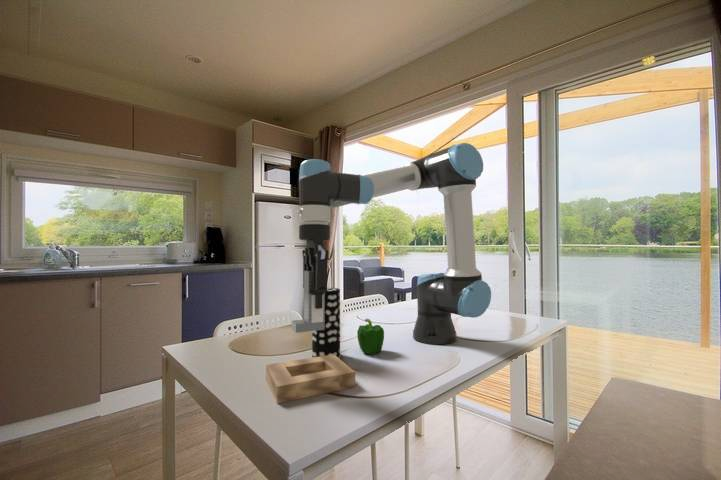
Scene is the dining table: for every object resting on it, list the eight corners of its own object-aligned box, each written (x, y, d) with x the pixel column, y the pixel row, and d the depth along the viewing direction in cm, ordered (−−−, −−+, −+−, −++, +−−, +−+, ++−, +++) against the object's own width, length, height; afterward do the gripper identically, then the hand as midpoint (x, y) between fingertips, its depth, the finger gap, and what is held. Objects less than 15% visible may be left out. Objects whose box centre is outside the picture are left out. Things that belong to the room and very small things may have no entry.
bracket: (319, 326, 82) (319, 270, 82) (324, 329, 78) (324, 271, 78) (291, 328, 79) (292, 271, 79) (295, 332, 75) (296, 272, 75)
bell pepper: (387, 355, 98) (386, 322, 98) (360, 357, 96) (359, 323, 97) (380, 347, 106) (380, 316, 106) (355, 348, 105) (355, 317, 105)
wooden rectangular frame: (333, 367, 88) (333, 354, 88) (355, 387, 76) (355, 371, 76) (265, 379, 81) (266, 364, 81) (277, 403, 68) (277, 386, 68)
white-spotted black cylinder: (335, 362, 92) (335, 291, 92) (308, 360, 94) (307, 291, 94) (343, 353, 100) (342, 288, 101) (317, 351, 102) (317, 287, 102)
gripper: (291, 225, 86) (290, 314, 85) (309, 220, 70) (309, 329, 70) (318, 226, 89) (318, 312, 88) (342, 222, 74) (341, 325, 73)
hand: (314, 319), depth 79 cm, fingers closed on bracket, 4 cm apart
